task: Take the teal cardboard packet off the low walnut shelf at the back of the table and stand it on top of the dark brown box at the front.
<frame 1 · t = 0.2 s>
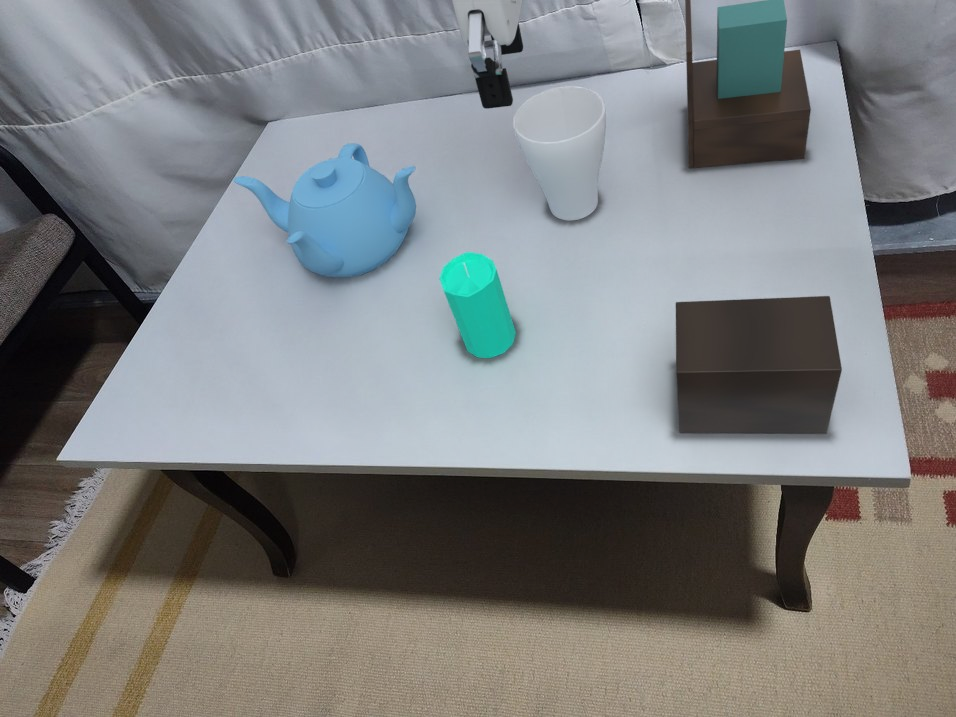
hand: (504, 78, 81), 19 cm above the table, tool pointing down, fingers open, 9 cm apart
teapot: (353, 248, 100), on the table
shelf: (745, 132, 96), on the table
dark brown box: (748, 398, 73), on the table
packet: (747, 84, 90), point 7 cm above the table, touching shelf
cup: (574, 205, 95), on the table
candle: (490, 338, 85), on the table
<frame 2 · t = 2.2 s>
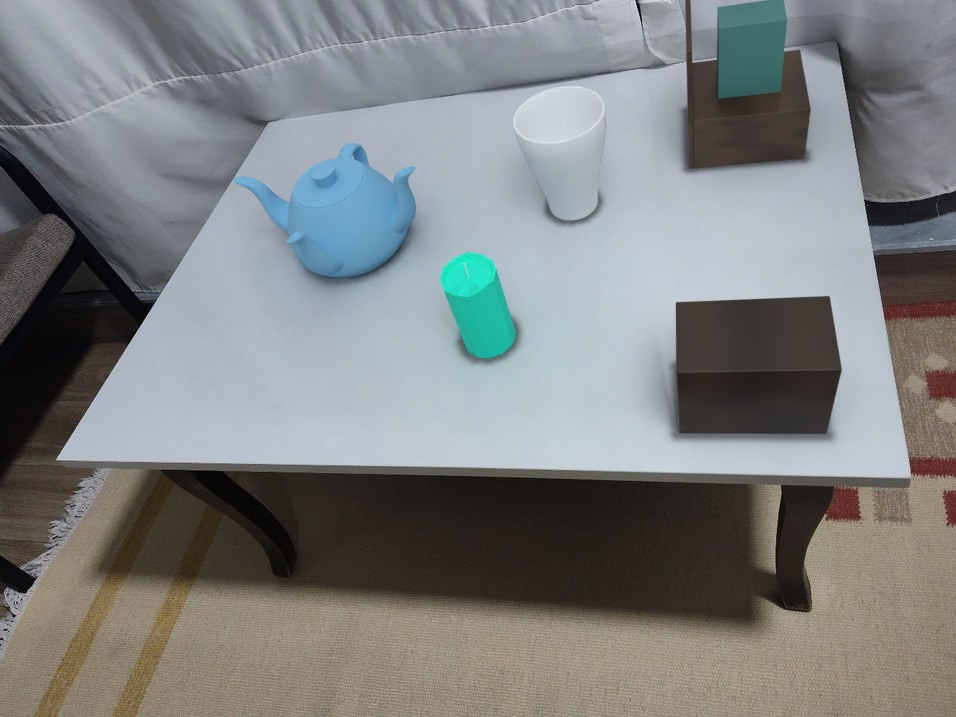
nothing on the table moved.
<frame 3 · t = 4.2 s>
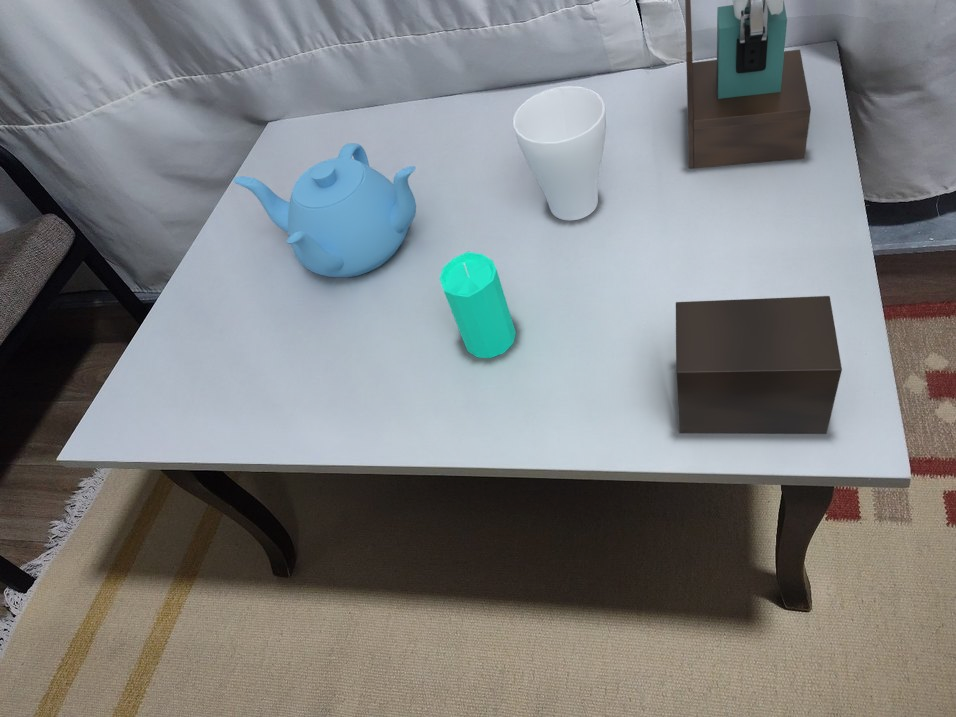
hand: (749, 55, 88), 11 cm above the table, tool pointing down, fingers closed on packet, 4 cm apart
packet: (747, 84, 90), point 7 cm above the table, touching gripper, shelf
everything else where it was.
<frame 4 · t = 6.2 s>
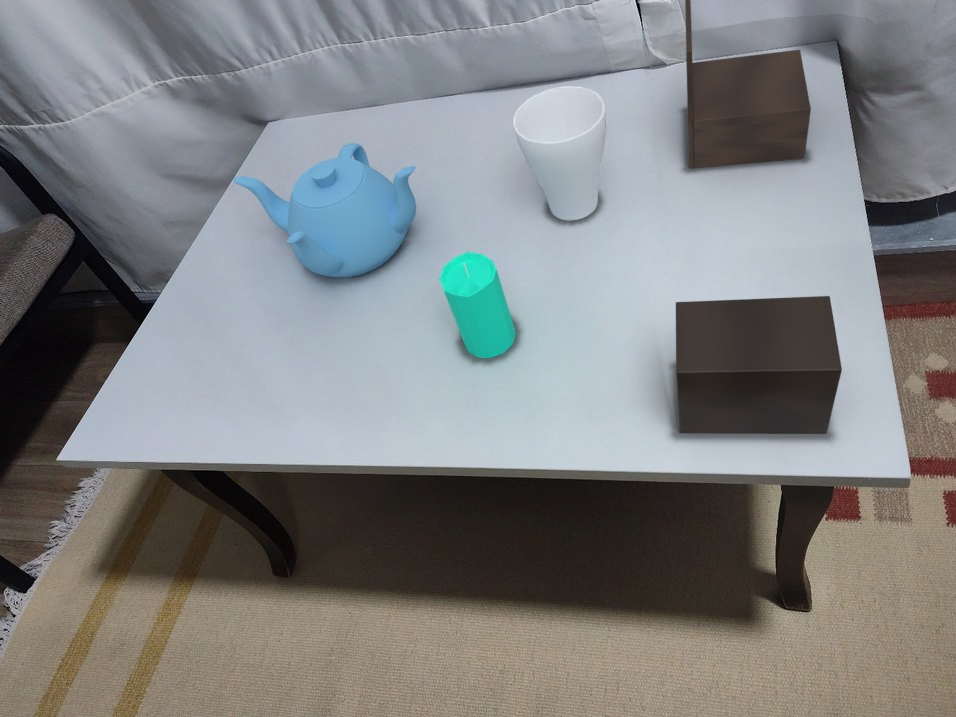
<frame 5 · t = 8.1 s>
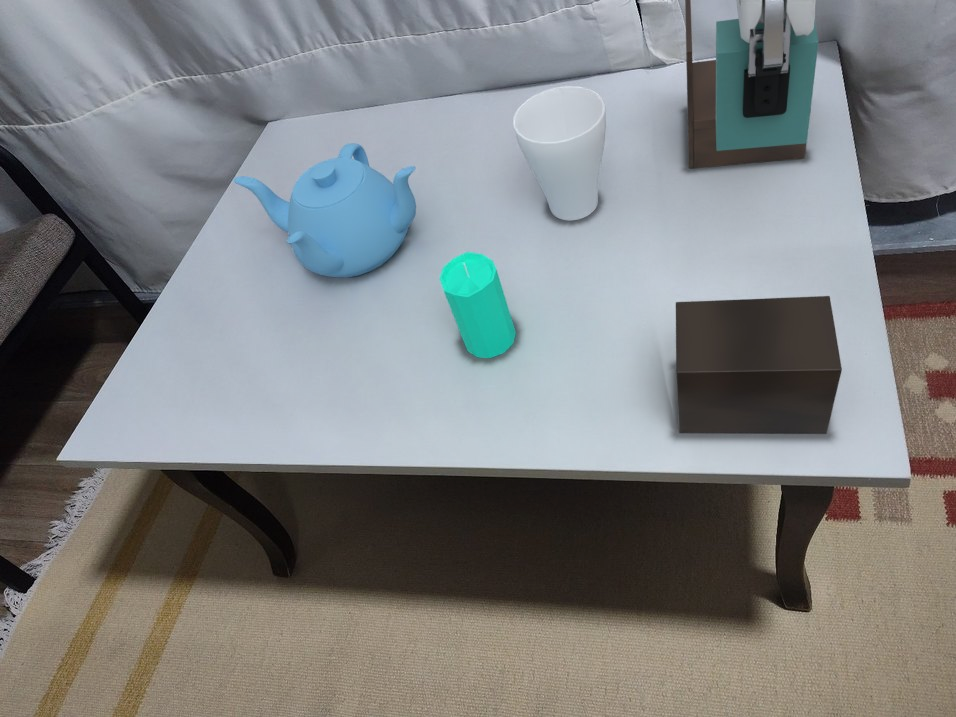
hand: (762, 92, 61), 25 cm above the table, tool pointing down, fingers closed on packet, 4 cm apart
packet: (759, 130, 64), point 21 cm above the table, touching gripper
everything else where it was.
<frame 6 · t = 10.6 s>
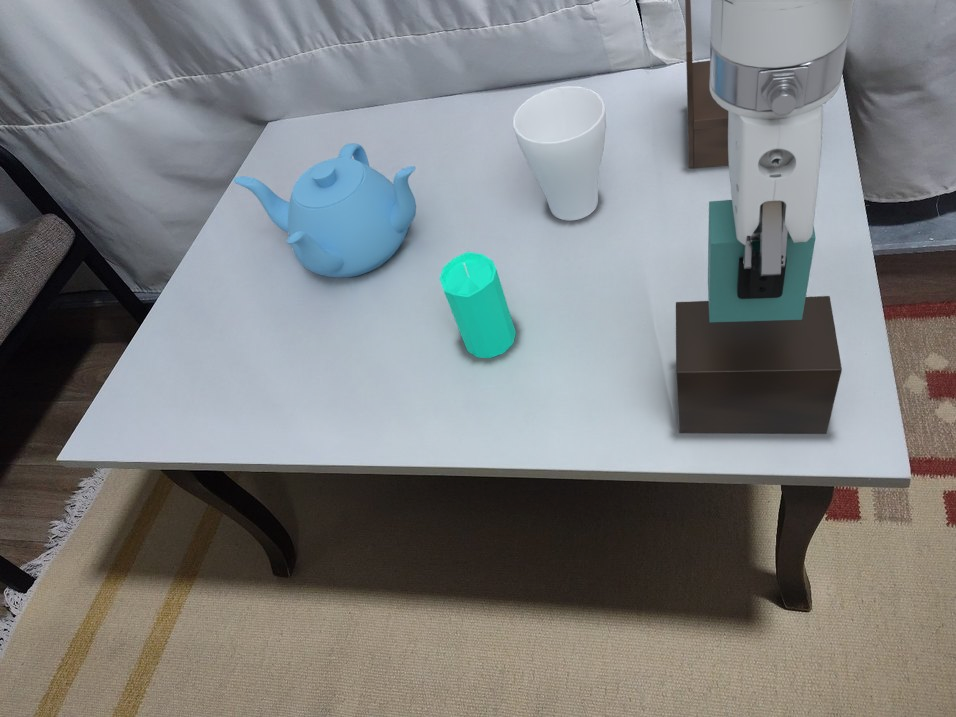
hand: (756, 268, 59), 18 cm above the table, tool pointing down, fingers closed on packet, 4 cm apart
packet: (753, 300, 62), point 14 cm above the table, touching gripper
everything else where it was.
when the fingers open (14 cm above the table, at t = 12.1 s): packet stays where it is, resting on dark brown box.
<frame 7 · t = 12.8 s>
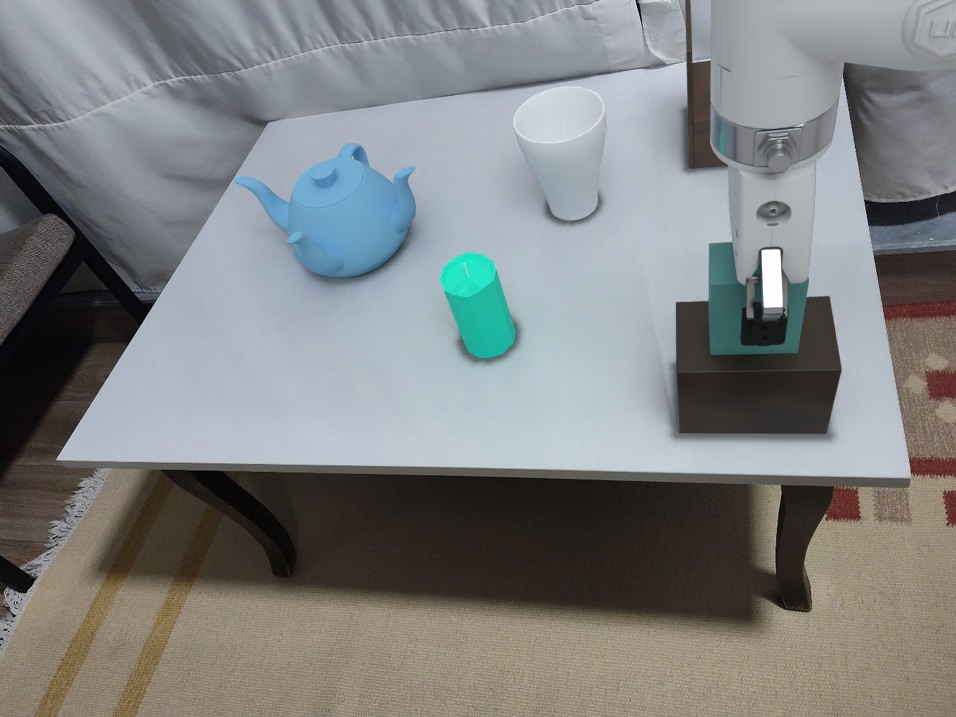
hand: (757, 295, 61), 15 cm above the table, tool pointing down, fingers open, 9 cm apart
packet: (751, 333, 65), point 10 cm above the table, touching dark brown box
everything else where it was.
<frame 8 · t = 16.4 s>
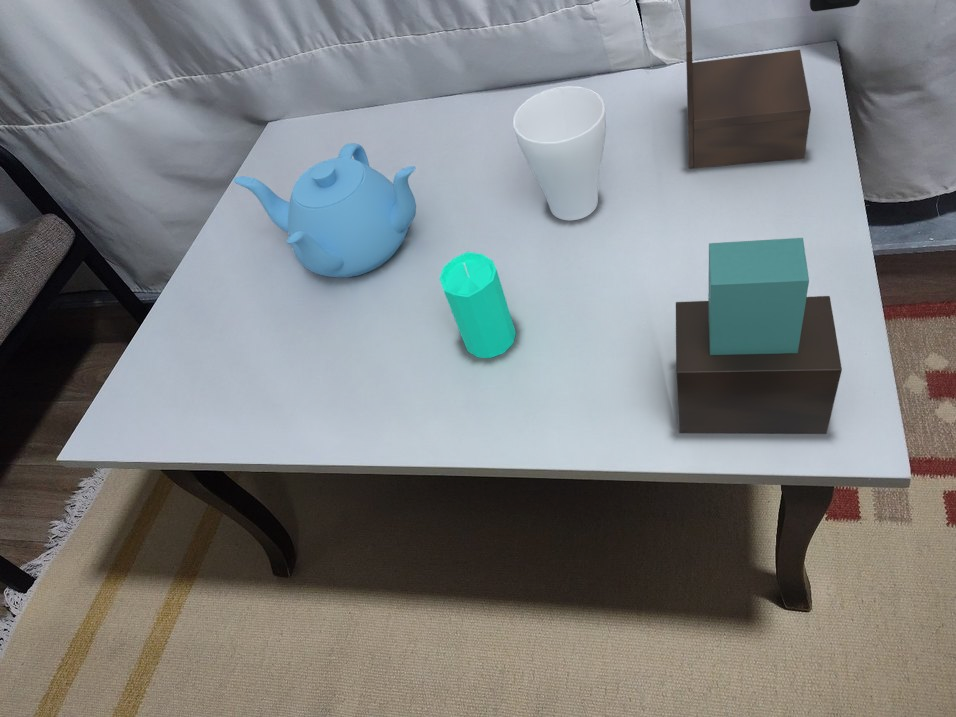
nothing on the table moved.
at the end: packet 0.2 cm off-centre on the dark brown box, point 10.0 cm above the dark brown box's base; packet tilted 0°; packet touching dark brown box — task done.
